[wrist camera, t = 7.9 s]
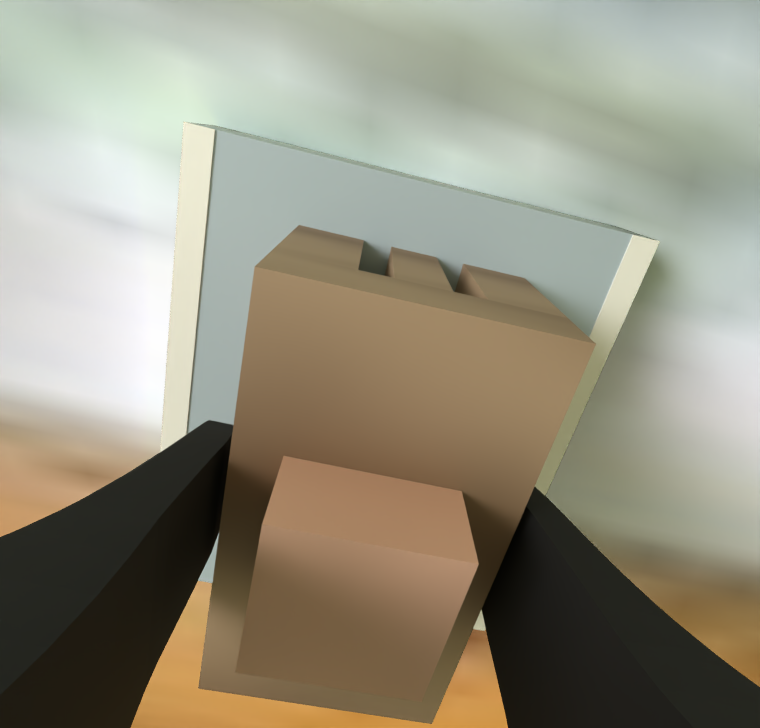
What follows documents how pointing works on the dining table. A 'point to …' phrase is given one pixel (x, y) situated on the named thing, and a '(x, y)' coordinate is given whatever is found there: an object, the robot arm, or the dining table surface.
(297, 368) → the pallet
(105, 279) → the dining table surface
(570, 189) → the dining table surface
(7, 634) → the robot arm
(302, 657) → the tan square block
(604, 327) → the dock
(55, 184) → the dining table surface
